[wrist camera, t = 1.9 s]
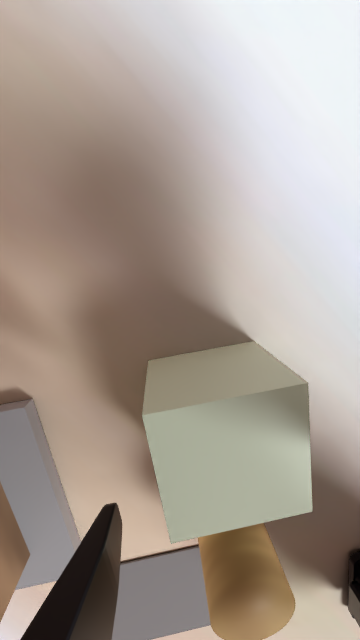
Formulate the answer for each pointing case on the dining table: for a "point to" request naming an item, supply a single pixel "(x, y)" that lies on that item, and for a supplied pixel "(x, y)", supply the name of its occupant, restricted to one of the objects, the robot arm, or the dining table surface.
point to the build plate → (35, 494)
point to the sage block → (227, 439)
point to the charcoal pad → (161, 596)
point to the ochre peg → (245, 584)
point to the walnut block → (10, 552)
